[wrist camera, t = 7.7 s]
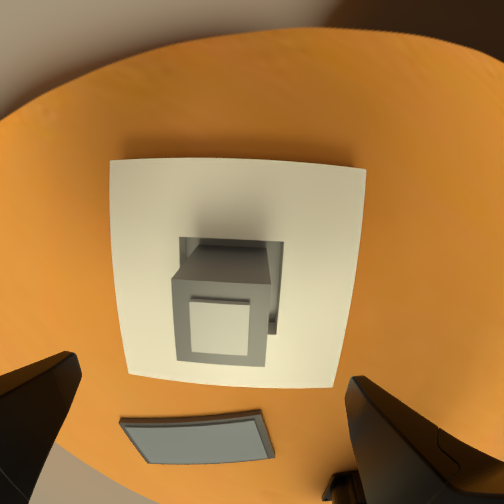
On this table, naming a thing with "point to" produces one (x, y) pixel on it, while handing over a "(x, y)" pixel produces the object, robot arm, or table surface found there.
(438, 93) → the table surface
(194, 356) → the block
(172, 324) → the outlet plate
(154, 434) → the phone
